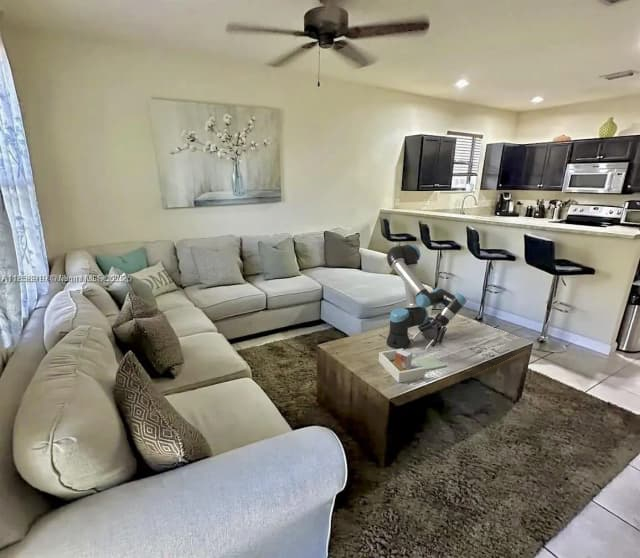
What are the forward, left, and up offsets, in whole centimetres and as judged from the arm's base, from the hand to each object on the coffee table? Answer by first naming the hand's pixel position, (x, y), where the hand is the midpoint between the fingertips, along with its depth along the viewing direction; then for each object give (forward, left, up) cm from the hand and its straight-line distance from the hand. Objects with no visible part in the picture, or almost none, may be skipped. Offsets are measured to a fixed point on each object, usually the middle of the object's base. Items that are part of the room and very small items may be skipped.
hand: (420, 344), depth 203 cm
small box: (-1, -10, -14) cm, 18 cm away
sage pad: (-1, +8, -14) cm, 16 cm away
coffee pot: (-29, +29, -14) cm, 43 cm away
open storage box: (-1, -11, -14) cm, 18 cm away
